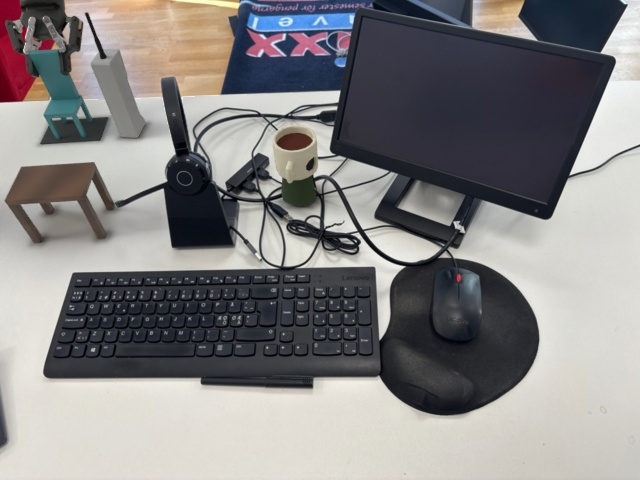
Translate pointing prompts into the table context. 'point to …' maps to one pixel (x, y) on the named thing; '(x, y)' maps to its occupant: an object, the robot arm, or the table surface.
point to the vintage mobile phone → (116, 89)
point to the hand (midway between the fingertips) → (50, 75)
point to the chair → (59, 91)
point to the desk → (57, 192)
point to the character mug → (296, 163)
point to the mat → (75, 131)
